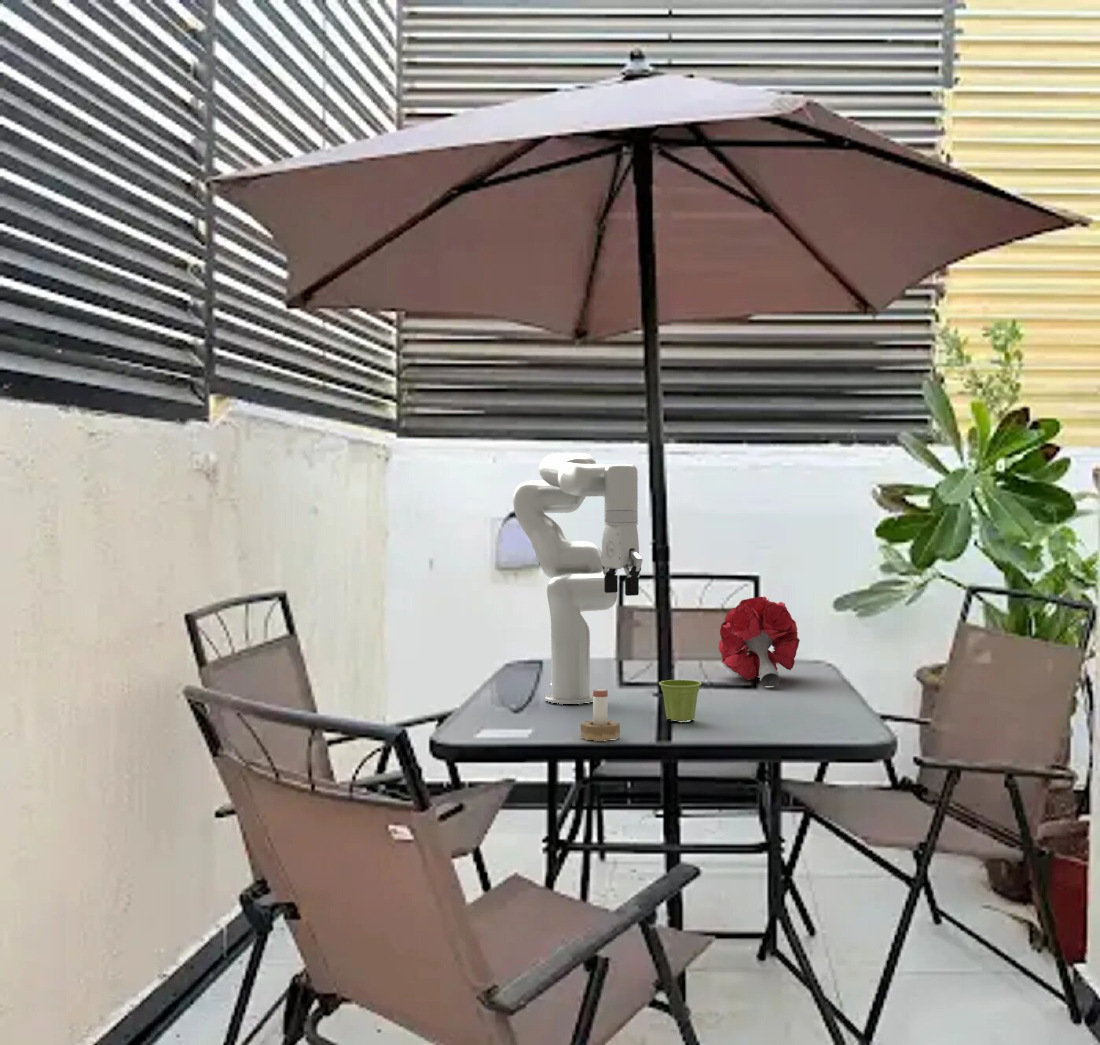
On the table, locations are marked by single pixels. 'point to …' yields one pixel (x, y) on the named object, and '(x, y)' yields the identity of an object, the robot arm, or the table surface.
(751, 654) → the bouquet
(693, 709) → the plant pot
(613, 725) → the bead
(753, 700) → the table surface
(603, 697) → the pink-tipped cream rod
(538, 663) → the table surface
